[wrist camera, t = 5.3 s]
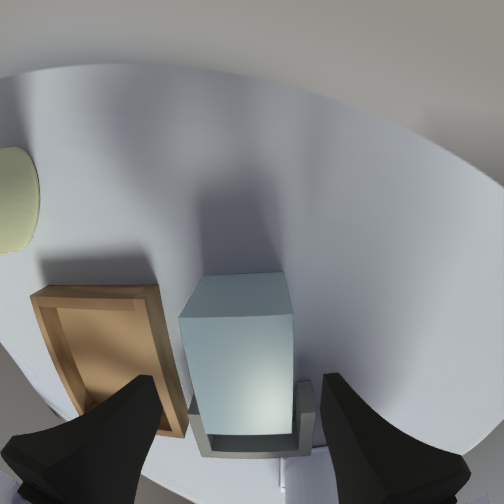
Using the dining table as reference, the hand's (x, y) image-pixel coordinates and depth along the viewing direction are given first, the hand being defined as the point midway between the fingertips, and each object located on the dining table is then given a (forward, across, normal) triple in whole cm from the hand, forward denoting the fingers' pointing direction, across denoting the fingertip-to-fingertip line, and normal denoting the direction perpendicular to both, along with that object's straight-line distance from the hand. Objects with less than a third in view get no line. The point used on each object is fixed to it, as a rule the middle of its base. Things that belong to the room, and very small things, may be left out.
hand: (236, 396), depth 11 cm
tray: (+8, +11, +4) cm, 14 cm away
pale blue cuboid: (+8, 0, +1) cm, 8 cm away
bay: (+8, 0, +9) cm, 12 cm away
